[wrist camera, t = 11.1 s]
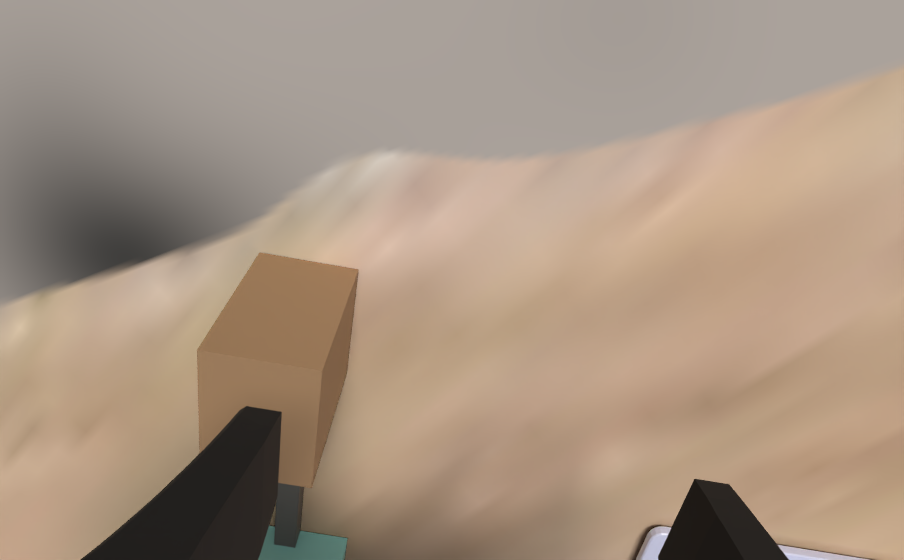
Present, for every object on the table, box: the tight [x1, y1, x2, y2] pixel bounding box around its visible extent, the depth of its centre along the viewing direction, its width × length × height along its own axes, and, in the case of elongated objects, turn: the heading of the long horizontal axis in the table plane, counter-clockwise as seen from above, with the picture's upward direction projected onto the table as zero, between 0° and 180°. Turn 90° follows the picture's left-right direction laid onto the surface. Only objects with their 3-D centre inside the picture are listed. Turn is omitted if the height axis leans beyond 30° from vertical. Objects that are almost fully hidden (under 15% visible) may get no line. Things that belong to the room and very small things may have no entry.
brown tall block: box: [197, 253, 358, 560], centre depth 23 cm, size 4×17×5 cm, turn 171°
